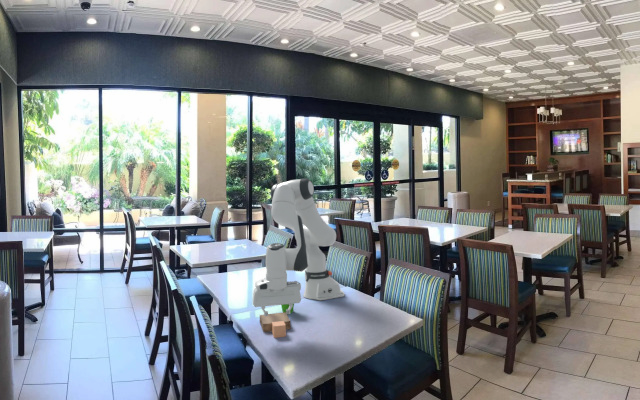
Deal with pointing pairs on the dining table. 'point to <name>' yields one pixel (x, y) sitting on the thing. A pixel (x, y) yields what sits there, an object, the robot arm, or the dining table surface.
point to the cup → (287, 308)
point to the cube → (278, 329)
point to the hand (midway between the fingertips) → (277, 314)
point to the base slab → (275, 317)
